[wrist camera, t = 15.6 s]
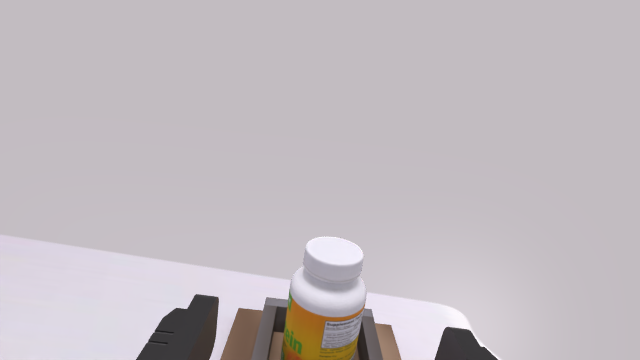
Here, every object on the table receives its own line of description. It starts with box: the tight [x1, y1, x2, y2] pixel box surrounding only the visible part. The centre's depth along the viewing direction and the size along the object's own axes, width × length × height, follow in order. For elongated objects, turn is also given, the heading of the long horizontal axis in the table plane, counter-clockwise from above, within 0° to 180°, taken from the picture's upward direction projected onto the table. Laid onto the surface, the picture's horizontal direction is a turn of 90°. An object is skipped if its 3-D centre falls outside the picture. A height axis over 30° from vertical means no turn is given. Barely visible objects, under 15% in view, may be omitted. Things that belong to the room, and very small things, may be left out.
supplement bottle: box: [281, 237, 366, 360], centre depth 24 cm, size 5×5×10 cm
